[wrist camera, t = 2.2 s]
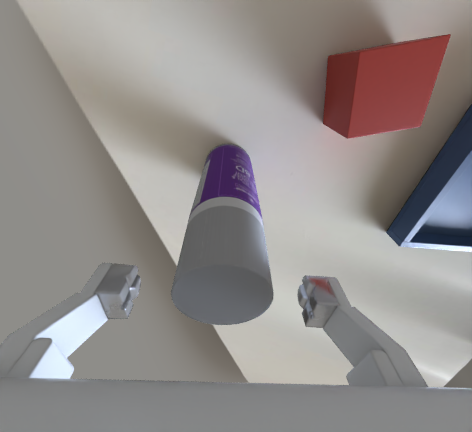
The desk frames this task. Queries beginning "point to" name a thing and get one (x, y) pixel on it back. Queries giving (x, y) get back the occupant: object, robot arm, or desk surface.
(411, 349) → the desk surface
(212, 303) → the container
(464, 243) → the tray
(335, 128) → the red block
